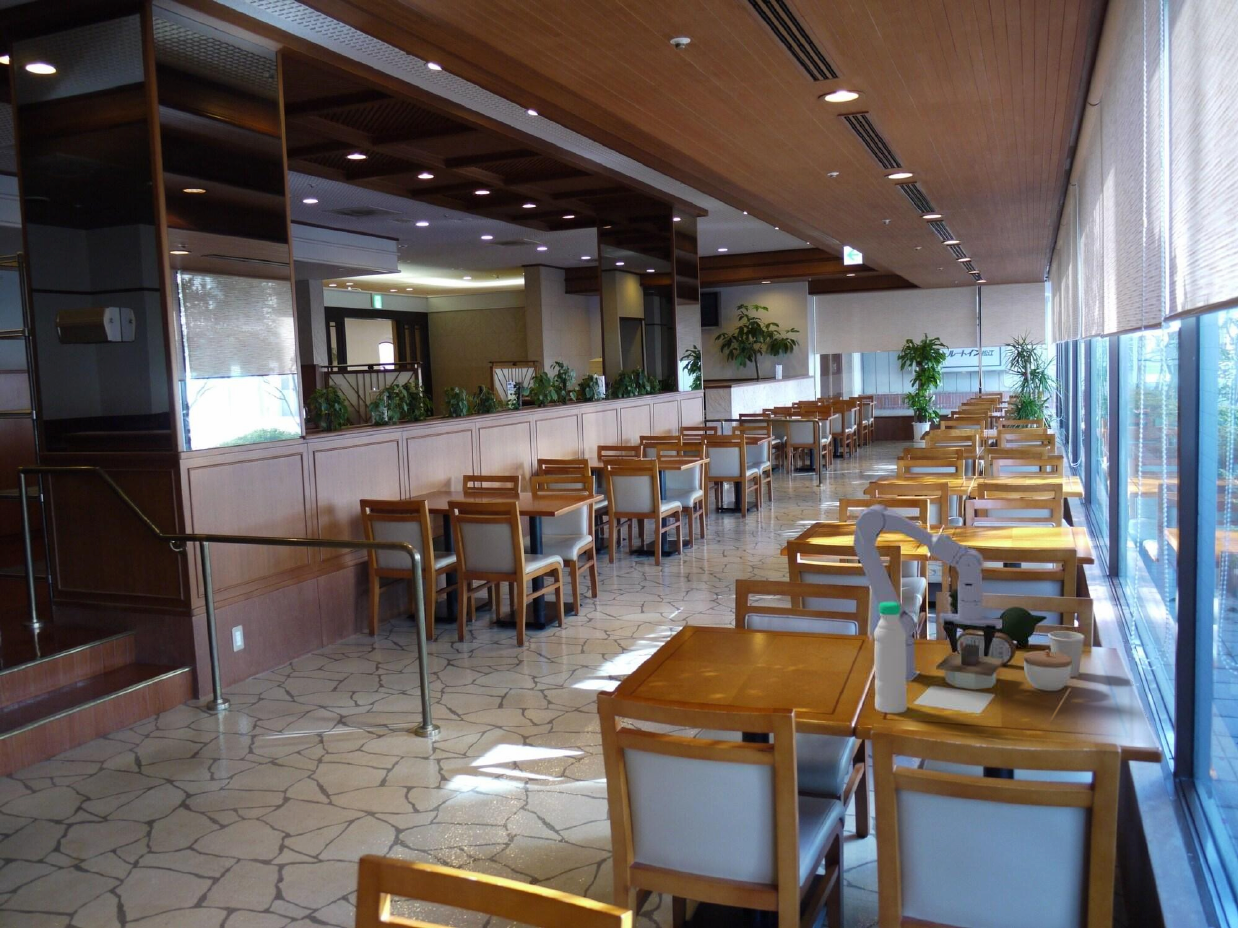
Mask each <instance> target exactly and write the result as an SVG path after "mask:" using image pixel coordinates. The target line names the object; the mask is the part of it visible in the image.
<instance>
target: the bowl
mask: <svg viewBox="0 0 1238 928" xmlns="http://www.w3.org/2000/svg"><path fill="white" fill-rule="evenodd" d="M944 671H945V682H947V683H948V684H949V685H952V686H954V687H956V688H962V689H971V690H979V689H989V688H992V687H994V685H995V684H996V683H997V671H996V672H995V673H994V674H993V675H992V676H985V675H977V674H970V673H962V672H954V671H946V670H944Z"/></svg>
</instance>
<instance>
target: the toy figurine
mask: <svg viewBox="0 0 1238 928" xmlns="http://www.w3.org/2000/svg"><path fill="white" fill-rule="evenodd" d="M948 597H949V598H951V600H950V602H949V606H950V607H951V608H952V612H951V613H950V614H958V588H953V589H952V590H951V591H950V592H949V594H948ZM995 618H996V619H1002V627H1001V628H1000V629H997V631H996V633H1002V634H1005V635H1007V636H1008V637H1010V638H1011V639H1012V641H1013V642H1016V645H1017V646H1018V647H1019V646H1020V647H1019V648H1022V647H1024V648H1027V647H1028V646H1029V642H1030V640H1029V639H1030V638H1031V637H1032V636H1033V634H1034V633H1035V630H1036V627H1037V625H1039V624H1040V623H1042V622H1043V621H1045V620H1046V619H1048V618H1047V616H1045V615H1038V614H1032V613H1031V612H1030V611H1028V610H1027V609H1025V608H1023V607H1019V606H1012V607H1009V608H1006V609H1005V610H1004V611H1003V612H1002V613H1001V614H1000V615H999V617H995ZM984 628H986V626H976V625H966V624H958V626H957V629H959V630H962V632H963V631H966V630H978V631H983V629H984Z"/></svg>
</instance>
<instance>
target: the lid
mask: <svg viewBox="0 0 1238 928" xmlns="http://www.w3.org/2000/svg"><path fill="white" fill-rule="evenodd" d="M1003 662H1004V659H995V658H987V657H979V645H972V644H966V645H965V646H964V647H963V648H962V649H961V654H958V653H952V652H950V653H949V654H948V655H946V657H944V659H942V660H941V661H940V662H939V663H938V664H937V665H936V666H935V669H936V670H940V671H945V670H946V671H954V672H962V673H970V674H977V675H985V676H992V675H993V674H994V673H995V672H996V673H997V670H998V669H999V668H1000V667H1002V666H1003V665H1002V664H1003Z"/></svg>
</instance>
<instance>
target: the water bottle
mask: <svg viewBox="0 0 1238 928" xmlns="http://www.w3.org/2000/svg"><path fill="white" fill-rule="evenodd" d="M878 613H879V615H880V619H879V621H878V622H877V626H876V627H875V630H874V632H873V638H874V653H873V654H874V656H873V657H874V658H873V659H874V675H875V676H876V677H875V676H874V677H875V681H874V692H875V697H874V707H875V709H876V711H879V712H882V713H885V714H901V713H904V712H906V711H907V708H908V707H907V706H908V702H907V681H906V680H905V678H906V646H905V639H906V633H905V631H904V629H903V627H902V624H901V622H900V621H899V619H898V616H899V615H900V614H899V613H900V605H899V604H898V603H896V602H882V603H880V604H878Z"/></svg>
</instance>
